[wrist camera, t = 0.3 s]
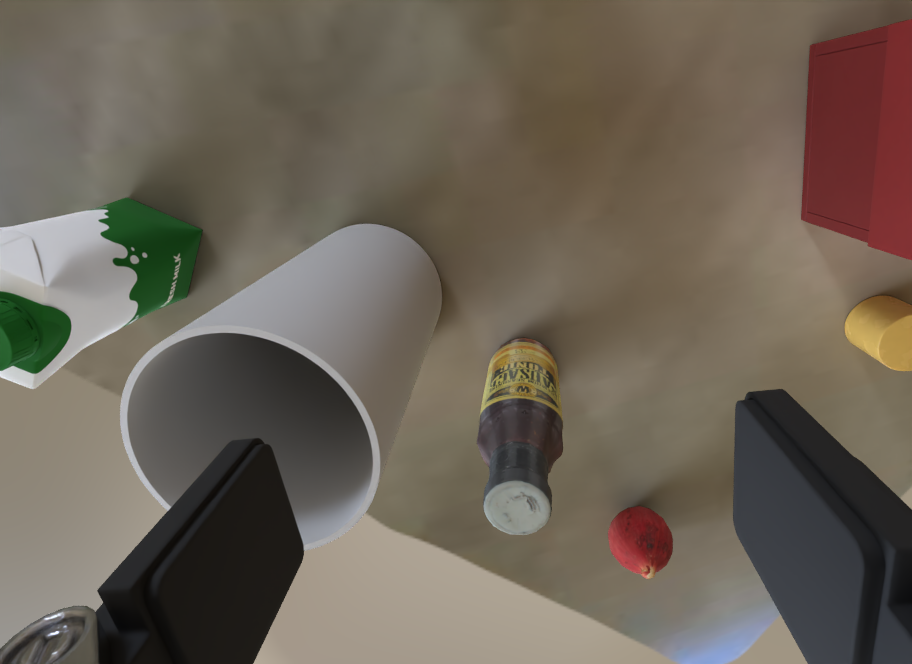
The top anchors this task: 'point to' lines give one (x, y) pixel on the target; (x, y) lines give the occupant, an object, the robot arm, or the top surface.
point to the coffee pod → (883, 330)
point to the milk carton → (85, 281)
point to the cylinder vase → (294, 377)
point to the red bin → (843, 131)
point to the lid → (894, 150)
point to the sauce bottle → (520, 435)
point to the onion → (640, 541)
